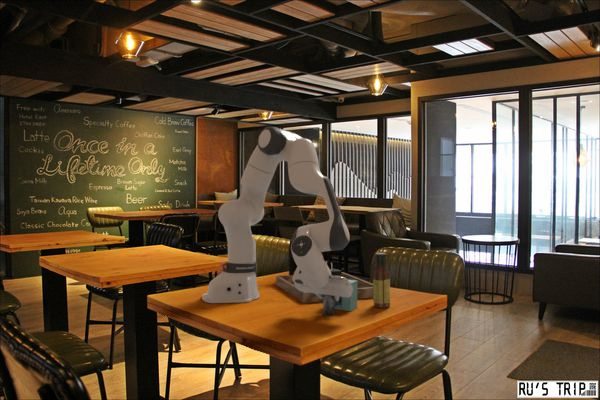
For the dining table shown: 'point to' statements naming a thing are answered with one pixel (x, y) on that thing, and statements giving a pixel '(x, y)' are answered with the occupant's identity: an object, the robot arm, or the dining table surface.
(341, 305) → the eye block
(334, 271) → the black-topped pedestal
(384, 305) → the sauce bottle
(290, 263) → the portable speaker
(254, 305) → the dining table surface
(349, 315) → the dining table surface
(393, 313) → the dining table surface
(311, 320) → the dining table surface
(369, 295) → the tray frame
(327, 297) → the dark piece
